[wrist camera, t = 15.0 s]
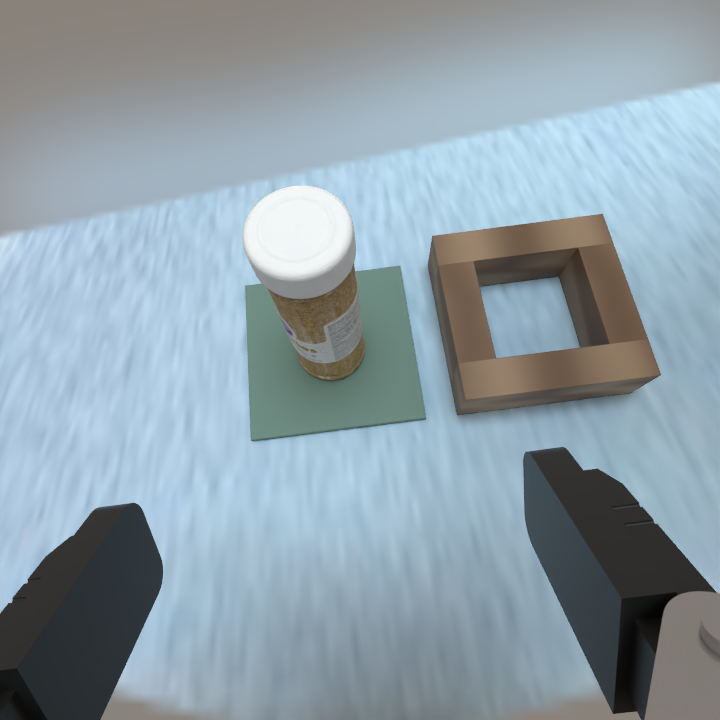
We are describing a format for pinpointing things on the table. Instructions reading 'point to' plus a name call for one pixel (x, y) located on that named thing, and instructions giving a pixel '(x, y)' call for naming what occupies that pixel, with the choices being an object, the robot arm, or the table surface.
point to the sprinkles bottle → (310, 275)
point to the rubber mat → (341, 396)
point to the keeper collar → (585, 301)
